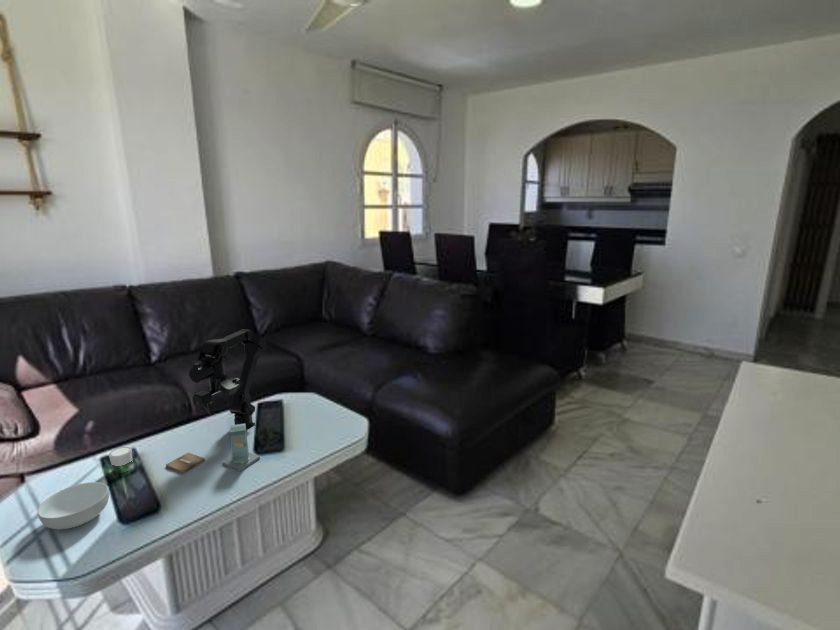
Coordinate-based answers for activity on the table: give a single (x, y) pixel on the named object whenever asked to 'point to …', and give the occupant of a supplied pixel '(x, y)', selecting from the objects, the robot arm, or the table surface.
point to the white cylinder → (121, 456)
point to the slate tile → (241, 465)
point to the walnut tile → (185, 462)
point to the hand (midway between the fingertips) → (220, 410)
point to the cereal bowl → (73, 505)
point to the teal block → (239, 443)
